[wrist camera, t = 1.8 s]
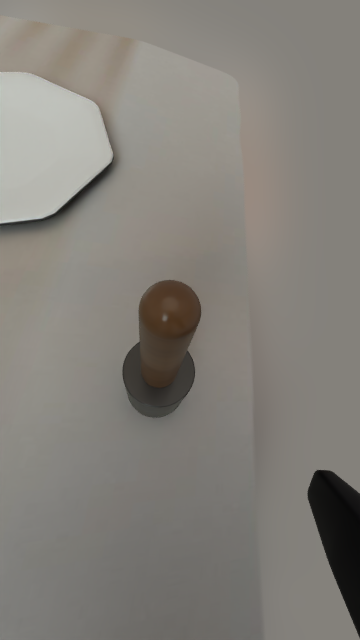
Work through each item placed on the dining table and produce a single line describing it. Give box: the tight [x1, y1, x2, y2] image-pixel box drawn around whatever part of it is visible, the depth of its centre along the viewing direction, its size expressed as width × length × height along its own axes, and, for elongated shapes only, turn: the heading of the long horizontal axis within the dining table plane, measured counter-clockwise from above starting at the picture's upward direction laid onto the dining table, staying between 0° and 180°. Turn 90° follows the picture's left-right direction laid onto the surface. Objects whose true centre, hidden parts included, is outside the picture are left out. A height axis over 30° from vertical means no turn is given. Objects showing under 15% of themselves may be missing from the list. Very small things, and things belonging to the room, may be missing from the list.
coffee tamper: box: [123, 280, 201, 418], centre depth 14 cm, size 4×4×13 cm
